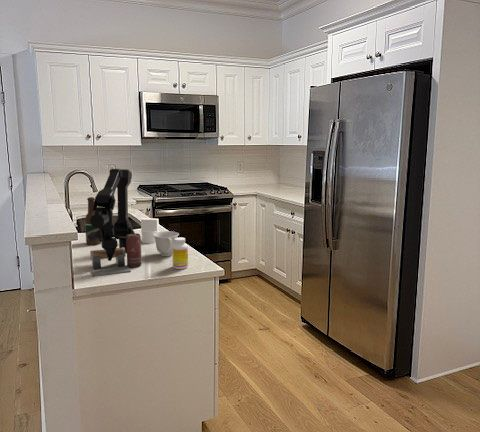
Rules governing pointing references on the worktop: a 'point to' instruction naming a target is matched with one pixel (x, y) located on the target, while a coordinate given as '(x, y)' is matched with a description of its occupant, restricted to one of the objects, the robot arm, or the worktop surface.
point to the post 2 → (120, 260)
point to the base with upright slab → (149, 229)
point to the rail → (104, 256)
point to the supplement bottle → (180, 253)
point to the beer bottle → (87, 221)
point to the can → (133, 250)
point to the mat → (110, 271)
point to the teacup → (165, 242)
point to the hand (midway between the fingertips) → (108, 257)
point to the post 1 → (96, 263)
